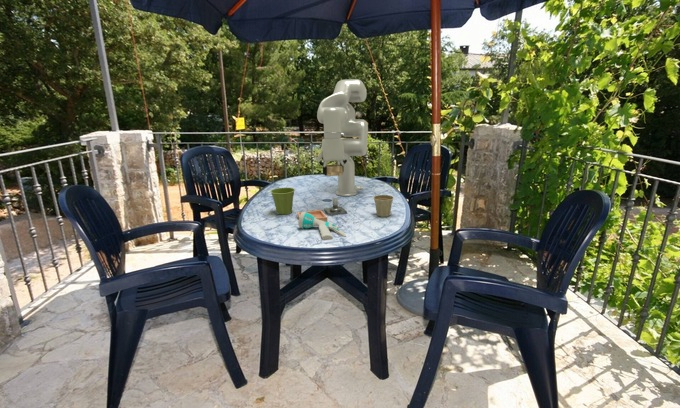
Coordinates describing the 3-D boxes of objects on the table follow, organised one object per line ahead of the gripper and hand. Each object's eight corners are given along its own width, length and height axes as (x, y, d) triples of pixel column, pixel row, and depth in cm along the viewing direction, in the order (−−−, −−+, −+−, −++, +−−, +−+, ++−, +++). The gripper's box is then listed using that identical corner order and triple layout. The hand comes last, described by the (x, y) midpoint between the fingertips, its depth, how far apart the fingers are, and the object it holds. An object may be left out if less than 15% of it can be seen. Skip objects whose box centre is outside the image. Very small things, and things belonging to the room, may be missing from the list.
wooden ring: (338, 172, 168) (338, 164, 167) (342, 175, 161) (342, 166, 160) (324, 173, 166) (324, 165, 165) (327, 176, 159) (327, 167, 158)
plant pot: (286, 207, 178) (285, 186, 175) (301, 212, 170) (300, 190, 167) (267, 212, 170) (265, 190, 167) (281, 218, 162) (279, 194, 159)
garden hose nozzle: (347, 229, 136) (336, 209, 154) (303, 229, 132) (297, 209, 150) (345, 245, 139) (335, 223, 157) (301, 246, 135) (296, 224, 153)
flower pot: (380, 219, 158) (380, 201, 155) (369, 214, 166) (369, 196, 163) (397, 216, 162) (397, 198, 159) (385, 210, 170) (386, 193, 167)
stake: (341, 208, 175) (341, 195, 173) (347, 213, 167) (346, 200, 165) (324, 210, 173) (323, 197, 171) (328, 215, 164) (328, 202, 162)
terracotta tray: (321, 214, 167) (321, 209, 166) (327, 221, 156) (327, 217, 155) (297, 216, 164) (297, 212, 163) (301, 224, 153) (301, 220, 152)
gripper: (348, 134, 164) (348, 171, 169) (311, 136, 160) (313, 174, 165) (353, 135, 157) (353, 174, 162) (315, 137, 153) (316, 177, 158)
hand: (333, 174), depth 164 cm, fingers closed on wooden ring, 7 cm apart
